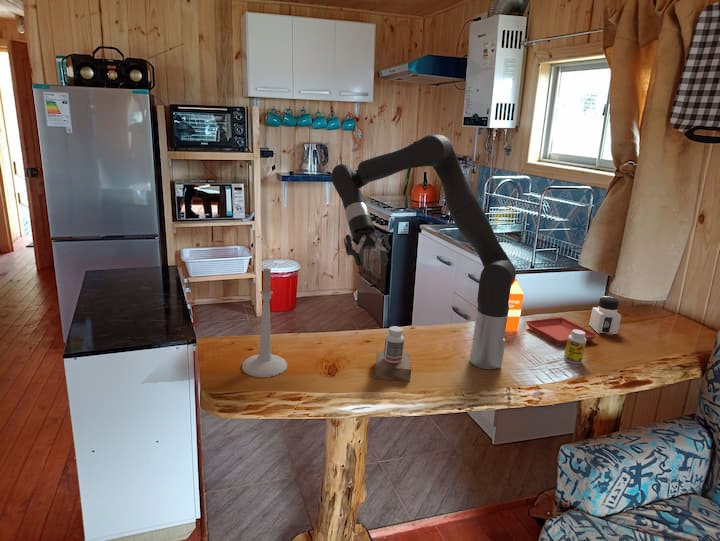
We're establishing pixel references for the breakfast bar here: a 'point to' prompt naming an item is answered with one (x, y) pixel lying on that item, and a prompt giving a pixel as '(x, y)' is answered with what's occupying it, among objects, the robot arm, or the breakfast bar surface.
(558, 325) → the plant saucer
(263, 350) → the grey pole stand
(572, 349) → the supplement bottle
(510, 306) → the orange juice
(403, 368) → the walnut base
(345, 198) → the robot arm
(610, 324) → the container
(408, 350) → the breakfast bar surface
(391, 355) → the pill bottle
